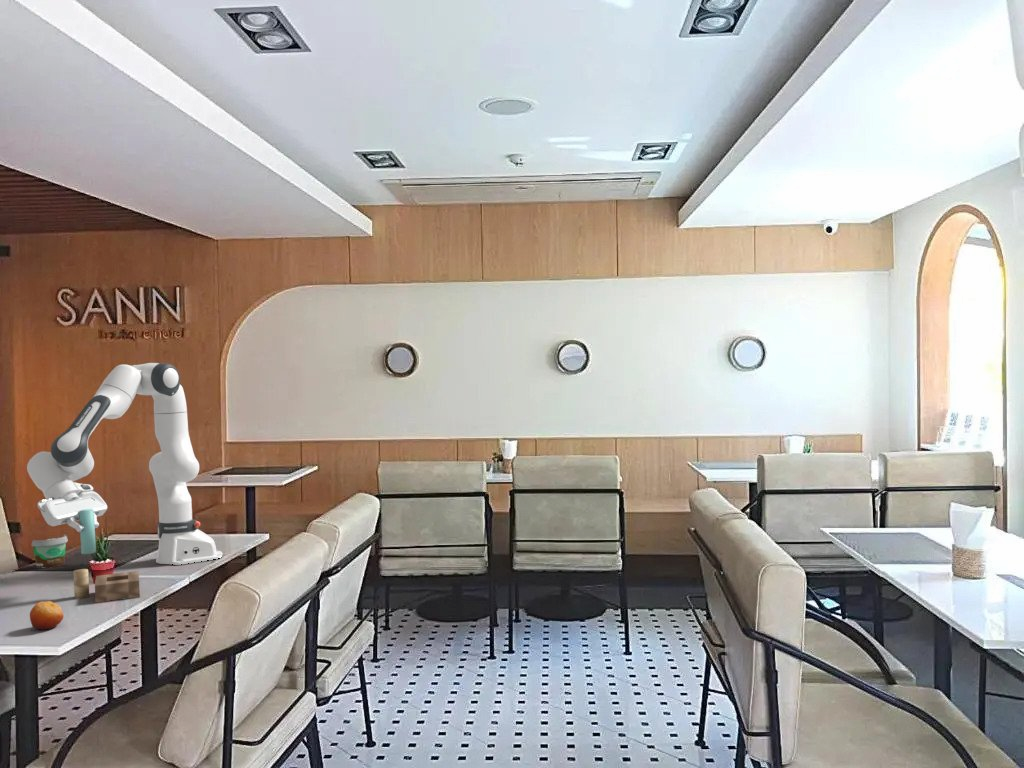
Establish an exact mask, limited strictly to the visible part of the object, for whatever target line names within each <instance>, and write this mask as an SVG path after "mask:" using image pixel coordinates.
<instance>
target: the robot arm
mask: <svg viewBox="0 0 1024 768" xmlns="http://www.w3.org/2000/svg"><path fill="white" fill-rule="evenodd" d="M184 391H185V390H184V388H183V386H182V385H181V377H180V373H179V370H178V369H177V368H176V366H175V365H173V364H170V363H166V362H160V363H158V362H147V363H143V364H142V363H141V364H132V365H129V364H119V365H116V366H115V367H114V368H113V369H112V370H111V372H109V374H108V375H107V376H106V377H105V378H104V380H103V381H102V383H101V385H100V386H99V388H98V389H97V390H96V392H95V394H94V395H93V397H91V399H90V400H89V401H88V402H87V403H86V405H84V407H83V408H82V410H81V411H80V412H79V414H78V415H77V416H76V418H75V419H74V420H73V422H72V423H71V424H70V426H69V427H68V428H66V430H64V431H63V432H62V433H60V434H59V435H58V436H57V437H56V438H55V439H54V440H53V441H52V443H51V447H50V451H39V452H37V453H36V454H34V455H33V456H32V457H31V458H30V459H29V461H28V463H27V465H26V469H27V473H28V475H29V477H30V479H31V480H32V483H34V485H35V486H36V487H37V488H38V489H39V491H41V492H42V493H43V497H44V498H45V499H40V500H39V501H37V505H36V506H37V508H38V510H40V513H41V515H42V517H43V519H44V521H45V522H46V523H47V525H48V526H51V527H56V526H61V525H65V524H67V525H68V526H69V527H71V528H73V529H75V531H77V533H80V532H81V531H83V530H84V529H85V527H84V526H83V525H82V524H80V514H79V511H80V510H86V509H94V523H95V529H97V528H98V527H100V523H99V522H98V519H97V518H98V517H102V516H104V514H105V513H106V512H107V510H108V505H107V503H106V501H105V500H104V499H103V498H102V496H101V495H100V494H99V493H97V492H96V491H94V487H93V486H92V485H91V484H86V483H79V482H77V481H79V480H81V479H83V478H85V477H87V476H88V475H90V474H91V473H92V471H93V470H94V467H95V460H94V458H93V455H92V453H91V451H90V449H89V439H90V436H91V435H92V433H93V432H94V431H95V430H96V427H98V425H99V424H100V423H101V421H102V420H103V419H107V420H116V419H119V418H121V417H122V416H123V415H124V414H125V413H126V412H127V411H128V410H129V408H130V406H131V405H132V403H133V401H134V399H135V397H136V396H151V397H152V399H153V419H154V434H155V435H154V436H155V438H156V440H157V442H158V444H159V447H160V451H159V452H156V453H154V455H152V456H151V458H150V459H149V463H148V468H149V472H150V473H151V475H152V478H153V483H154V488H155V492H156V496H157V501H158V503H157V504H158V523H157V536H158V549H157V555H156V559H155V563H156V564H160V565H172V564H173V566H181V564H182V565H187V564H188V563H189V564H195V563H201V561H202V562H208V561H207V560H209V561H214V560H213V559H216V560H219V559H218V558H220V559H222V558H223V557H222V555H223V554H224V553H223V552H222V551H221V550H218V549H217V547H216V542H215V540H214V539H213V538H212V537H211V536H210V535H208V534H207V533H205V532H203V531H202V530H201V529H199V528H200V527H201V522H200V521H198V520H197V519H194V518H193V507H192V506H193V505H192V501H193V500H192V496H191V494H190V492H189V490H188V486H187V483H189V482H191V481H193V480H194V479H196V478H197V476H198V474H199V471H200V463H199V461H198V459H197V458H196V455H195V453H194V449H193V445H192V441H191V438H190V433H189V422H188V421H189V420H188V407H187V400H186V394H185V392H184ZM221 557H222V558H221ZM194 562H195V563H194Z"/></svg>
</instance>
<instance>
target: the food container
mask: <svg viewBox="0 0 1024 768" xmlns="http://www.w3.org/2000/svg"><path fill="white" fill-rule="evenodd" d="M68 541H69V540H68V536H67V535H66V534H64V533H63V536H60V537H55V538H54V537H53V538H46V539H38V540H37V539H32V542H31V547H32V548H33V553H34V560H35V565H36V567H52V568H54V567H53V566H58V565H61V566H63V565H62V564H64V563H66V560H65V559H66V546H67V545H66V544H67V542H68ZM64 565H65V564H64ZM58 567H59V566H58Z"/></svg>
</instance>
